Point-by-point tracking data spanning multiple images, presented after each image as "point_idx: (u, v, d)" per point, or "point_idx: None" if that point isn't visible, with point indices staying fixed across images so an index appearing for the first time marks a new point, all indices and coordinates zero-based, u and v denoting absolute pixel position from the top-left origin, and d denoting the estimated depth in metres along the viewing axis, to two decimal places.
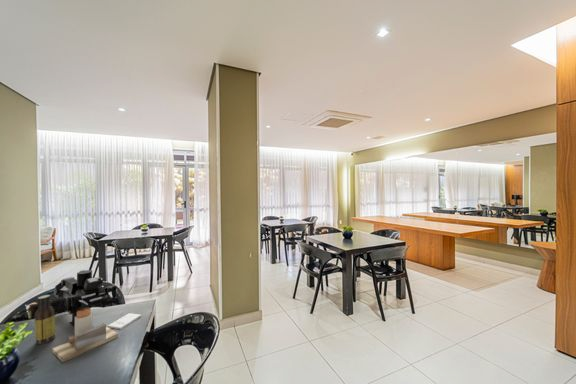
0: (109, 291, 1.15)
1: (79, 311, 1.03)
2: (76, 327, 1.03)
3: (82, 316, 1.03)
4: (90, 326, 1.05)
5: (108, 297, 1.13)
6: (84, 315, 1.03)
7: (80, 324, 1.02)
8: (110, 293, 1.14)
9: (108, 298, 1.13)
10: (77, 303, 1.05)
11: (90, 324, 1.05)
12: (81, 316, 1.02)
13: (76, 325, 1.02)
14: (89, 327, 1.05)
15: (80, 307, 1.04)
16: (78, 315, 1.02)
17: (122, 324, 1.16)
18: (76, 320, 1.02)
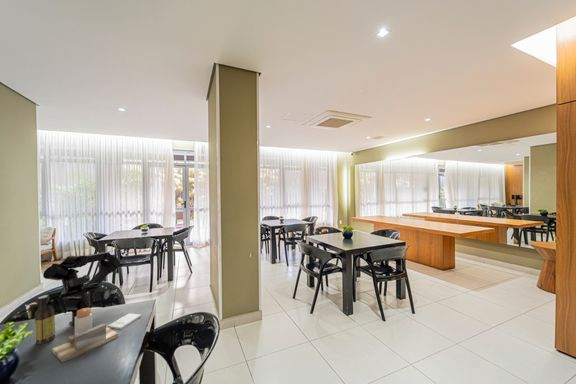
0: (91, 292, 1.14)
1: (79, 311, 1.03)
2: (76, 327, 1.03)
3: (82, 316, 1.03)
4: (90, 326, 1.05)
5: (88, 298, 1.14)
6: (84, 315, 1.03)
7: (80, 324, 1.02)
8: (91, 296, 1.14)
9: (88, 299, 1.14)
10: (57, 301, 1.05)
11: (90, 324, 1.05)
12: (81, 316, 1.02)
13: (76, 325, 1.02)
14: (89, 327, 1.05)
15: (58, 307, 1.04)
16: (78, 315, 1.02)
17: (122, 324, 1.16)
18: (76, 320, 1.02)
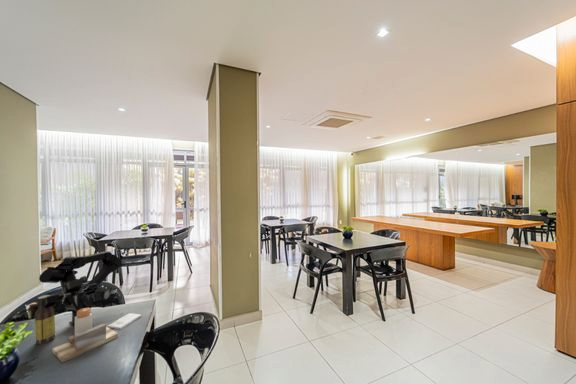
0: (78, 297, 1.10)
1: (79, 311, 1.03)
2: (76, 327, 1.03)
3: (82, 316, 1.03)
4: (90, 326, 1.05)
5: (76, 303, 1.10)
6: (84, 315, 1.03)
7: (80, 324, 1.02)
8: (79, 300, 1.10)
9: None
10: (68, 300, 1.09)
11: (90, 324, 1.05)
12: (81, 316, 1.02)
13: (76, 325, 1.02)
14: (89, 327, 1.05)
15: (70, 306, 1.08)
16: (78, 315, 1.02)
17: (122, 324, 1.17)
18: (76, 320, 1.02)
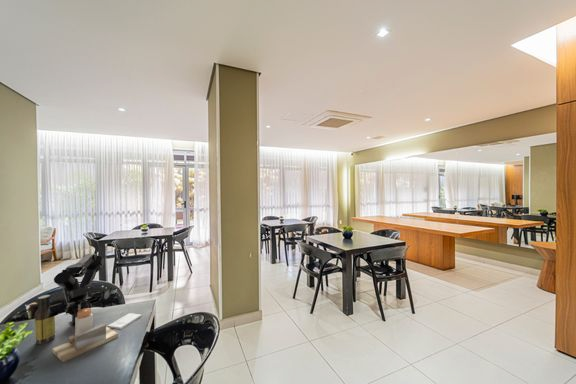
0: (82, 306, 1.08)
1: (80, 311, 1.03)
2: (76, 328, 1.02)
3: (83, 316, 1.02)
4: (91, 326, 1.05)
5: None
6: (85, 315, 1.03)
7: (80, 325, 1.02)
8: None
9: None
10: None
11: (91, 324, 1.05)
12: (82, 316, 1.02)
13: (77, 325, 1.02)
14: (90, 327, 1.04)
15: (74, 315, 1.06)
16: (78, 315, 1.02)
17: (122, 324, 1.17)
18: (77, 320, 1.02)
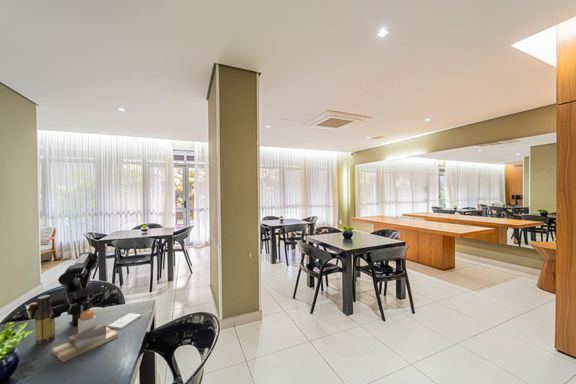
0: (85, 307, 1.07)
1: (83, 313, 1.01)
2: (79, 330, 1.01)
3: (86, 318, 1.01)
4: None
5: None
6: (88, 317, 1.01)
7: (83, 327, 1.00)
8: None
9: None
10: (74, 310, 1.05)
11: (94, 326, 1.03)
12: (85, 318, 1.01)
13: (80, 328, 1.00)
14: None
15: (76, 316, 1.05)
16: (81, 317, 1.00)
17: (122, 324, 1.17)
18: (80, 322, 1.00)
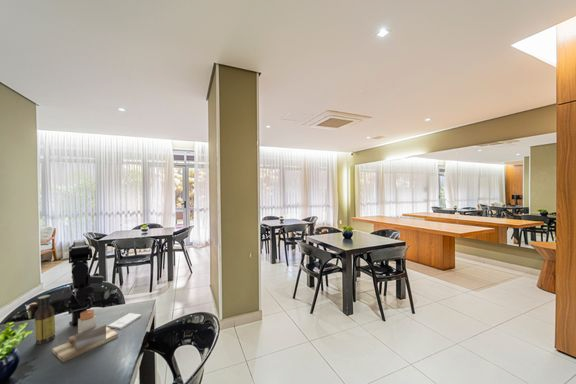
0: None
1: (83, 313, 1.01)
2: (79, 330, 1.01)
3: (86, 318, 1.01)
4: None
5: None
6: (88, 317, 1.01)
7: (83, 327, 1.00)
8: None
9: None
10: None
11: (94, 326, 1.03)
12: (85, 318, 1.01)
13: (80, 328, 1.00)
14: None
15: (78, 299, 1.08)
16: (81, 317, 1.00)
17: (122, 324, 1.17)
18: (80, 322, 1.00)
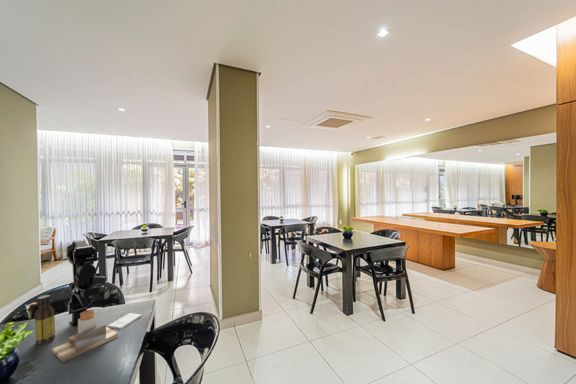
0: None
1: (83, 313, 1.01)
2: (79, 330, 1.01)
3: (86, 318, 1.01)
4: None
5: None
6: (88, 317, 1.01)
7: (83, 327, 1.00)
8: None
9: None
10: None
11: (94, 326, 1.03)
12: (85, 318, 1.01)
13: (80, 328, 1.00)
14: None
15: (82, 299, 1.08)
16: (81, 317, 1.00)
17: (122, 324, 1.17)
18: (80, 322, 1.00)
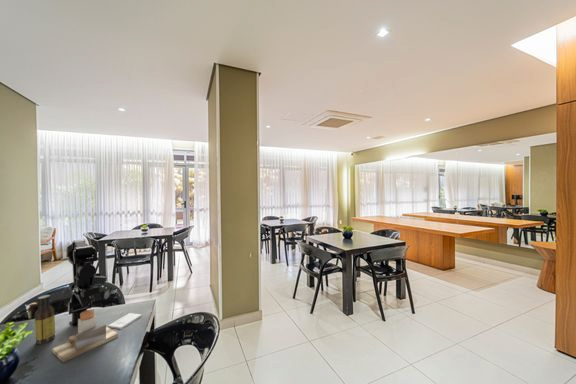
0: None
1: (83, 313, 1.01)
2: (79, 330, 1.01)
3: (86, 318, 1.01)
4: None
5: None
6: (88, 317, 1.01)
7: (83, 327, 1.00)
8: None
9: None
10: None
11: (94, 326, 1.03)
12: (85, 318, 1.01)
13: (80, 328, 1.00)
14: None
15: (82, 299, 1.08)
16: (81, 317, 1.00)
17: (122, 324, 1.17)
18: (80, 322, 1.00)
